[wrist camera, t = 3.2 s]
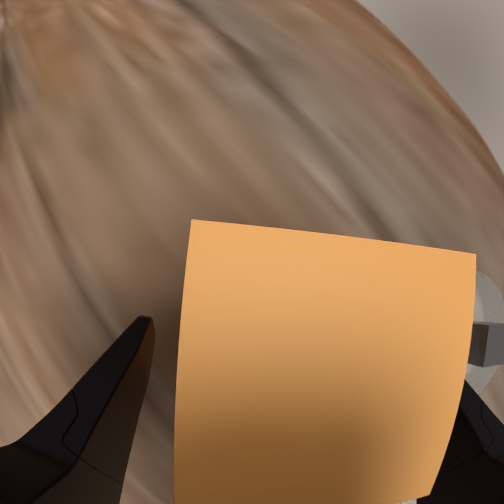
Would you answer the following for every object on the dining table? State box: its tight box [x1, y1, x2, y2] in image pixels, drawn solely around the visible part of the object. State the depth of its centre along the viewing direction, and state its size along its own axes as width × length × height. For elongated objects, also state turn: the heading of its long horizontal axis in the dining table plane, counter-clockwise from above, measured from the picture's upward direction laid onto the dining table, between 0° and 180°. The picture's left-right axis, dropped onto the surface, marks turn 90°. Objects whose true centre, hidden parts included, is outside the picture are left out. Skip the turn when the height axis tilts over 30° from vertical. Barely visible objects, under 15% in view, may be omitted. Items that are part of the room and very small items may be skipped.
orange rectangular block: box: [174, 220, 476, 504], centre depth 11 cm, size 6×6×12 cm
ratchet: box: [398, 271, 504, 504], centre depth 14 cm, size 22×9×5 cm, turn 174°
